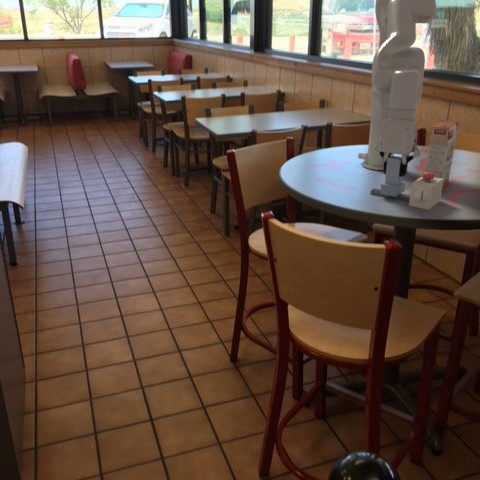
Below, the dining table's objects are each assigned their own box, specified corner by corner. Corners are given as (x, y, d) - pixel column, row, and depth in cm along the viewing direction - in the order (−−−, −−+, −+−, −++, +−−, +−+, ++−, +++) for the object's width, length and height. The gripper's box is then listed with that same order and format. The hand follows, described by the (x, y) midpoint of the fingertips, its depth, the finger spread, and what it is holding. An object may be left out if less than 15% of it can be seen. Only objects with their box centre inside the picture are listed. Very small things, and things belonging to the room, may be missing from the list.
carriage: (380, 193, 158) (383, 158, 154) (389, 188, 163) (393, 154, 159) (395, 196, 156) (400, 161, 151) (404, 191, 161) (408, 156, 156)
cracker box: (440, 193, 163) (450, 127, 155) (421, 191, 166) (430, 125, 158) (449, 183, 174) (459, 120, 166) (431, 180, 177) (440, 119, 169)
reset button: (419, 183, 151) (421, 173, 150) (423, 180, 154) (425, 171, 153) (431, 185, 150) (432, 175, 148) (435, 182, 152) (436, 172, 151)
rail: (370, 193, 163) (370, 190, 163) (373, 192, 165) (373, 188, 164) (413, 202, 155) (413, 198, 155) (416, 200, 157) (416, 196, 156)
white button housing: (408, 205, 152) (411, 183, 149) (420, 197, 160) (423, 175, 157) (428, 210, 149) (431, 186, 146) (440, 200, 156) (443, 178, 153)
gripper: (369, 113, 152) (363, 173, 159) (425, 118, 143) (416, 182, 150) (380, 110, 158) (374, 168, 165) (434, 115, 148) (425, 176, 155)
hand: (394, 174), depth 157 cm, fingers closed on carriage, 4 cm apart
